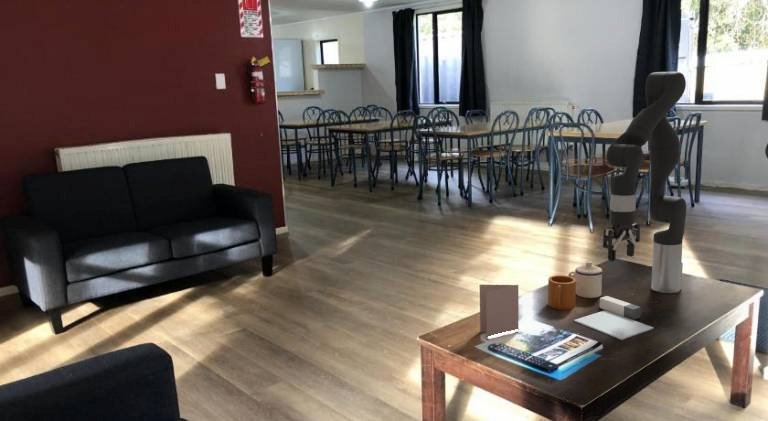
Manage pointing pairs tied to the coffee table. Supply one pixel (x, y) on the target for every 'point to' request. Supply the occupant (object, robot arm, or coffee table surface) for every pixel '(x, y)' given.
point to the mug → (561, 292)
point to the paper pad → (613, 324)
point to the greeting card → (498, 308)
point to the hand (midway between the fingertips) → (621, 258)
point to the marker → (620, 307)
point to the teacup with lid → (588, 280)
